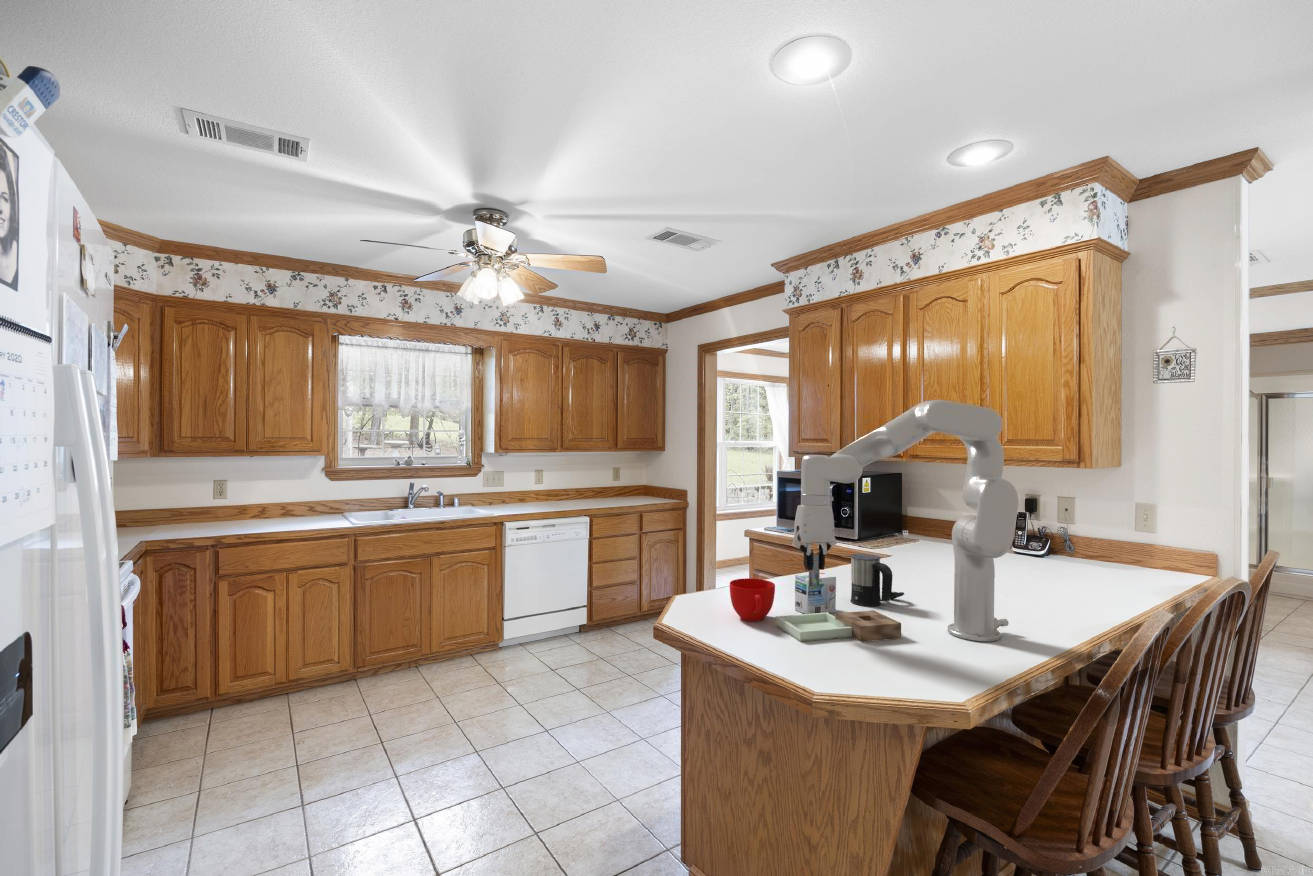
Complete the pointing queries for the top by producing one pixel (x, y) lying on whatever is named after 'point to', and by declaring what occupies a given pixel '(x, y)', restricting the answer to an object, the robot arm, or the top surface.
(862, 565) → the milk frother
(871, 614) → the block
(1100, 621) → the top surface
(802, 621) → the tray
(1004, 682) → the top surface
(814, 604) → the light bulb box
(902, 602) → the top surface
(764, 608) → the ceramic cup
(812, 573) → the pin
